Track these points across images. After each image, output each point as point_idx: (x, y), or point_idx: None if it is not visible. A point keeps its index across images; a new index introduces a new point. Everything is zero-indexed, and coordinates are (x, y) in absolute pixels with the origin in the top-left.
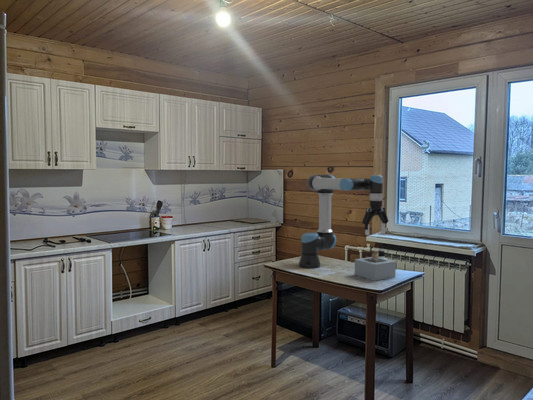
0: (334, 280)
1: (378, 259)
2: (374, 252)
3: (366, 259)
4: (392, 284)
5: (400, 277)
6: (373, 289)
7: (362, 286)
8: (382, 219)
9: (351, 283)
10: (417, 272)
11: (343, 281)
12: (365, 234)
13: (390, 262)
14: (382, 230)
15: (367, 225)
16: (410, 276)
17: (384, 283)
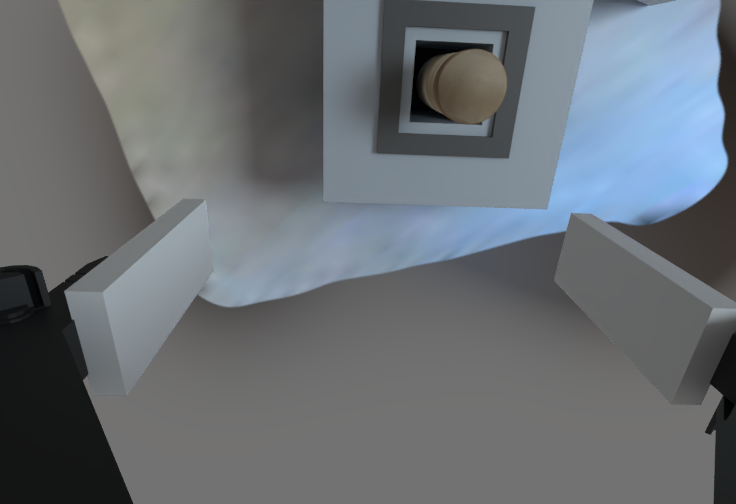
0: (84, 11)
1: None
2: (439, 104)
3: (398, 24)
4: (350, 276)
5: None
6: None
7: None
8: (724, 475)
9: (152, 140)
10: (720, 176)
11: (131, 72)
12: (181, 206)
13: (488, 206)
14: (590, 265)
15: (85, 358)
16: None
17: (329, 242)
